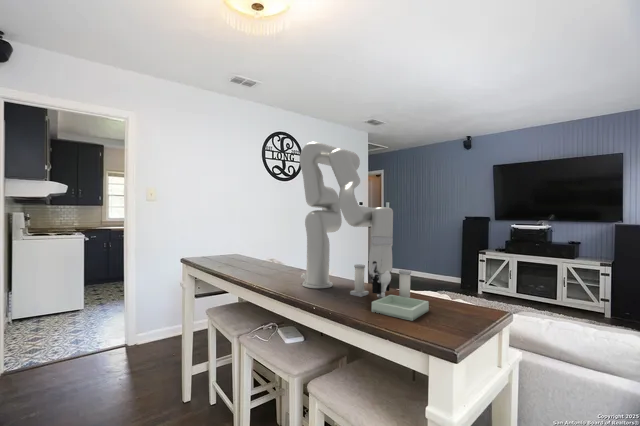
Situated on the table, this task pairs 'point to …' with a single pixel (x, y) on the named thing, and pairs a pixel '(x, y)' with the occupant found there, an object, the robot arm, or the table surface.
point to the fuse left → (359, 281)
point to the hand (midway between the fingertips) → (381, 291)
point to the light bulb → (384, 283)
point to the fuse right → (404, 283)
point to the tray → (400, 307)
